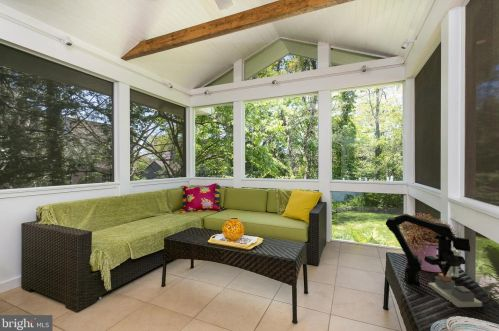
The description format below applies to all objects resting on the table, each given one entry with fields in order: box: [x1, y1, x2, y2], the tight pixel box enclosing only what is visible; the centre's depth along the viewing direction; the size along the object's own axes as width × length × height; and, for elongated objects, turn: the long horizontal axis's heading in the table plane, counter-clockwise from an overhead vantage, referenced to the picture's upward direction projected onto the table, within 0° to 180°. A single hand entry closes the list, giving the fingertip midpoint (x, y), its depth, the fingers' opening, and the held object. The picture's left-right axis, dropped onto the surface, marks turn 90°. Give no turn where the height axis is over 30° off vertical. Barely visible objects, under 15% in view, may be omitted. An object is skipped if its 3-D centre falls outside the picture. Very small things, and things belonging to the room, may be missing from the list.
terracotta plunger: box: [437, 272, 452, 282], centre depth 130 cm, size 4×4×5 cm
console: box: [427, 276, 483, 308], centre depth 125 cm, size 12×19×6 cm, turn 0°
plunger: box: [455, 285, 471, 293], centre depth 120 cm, size 4×4×5 cm
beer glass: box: [447, 249, 461, 278], centre depth 146 cm, size 7×7×15 cm
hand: (444, 275), depth 130 cm, fingers closed, pressing on terracotta plunger
